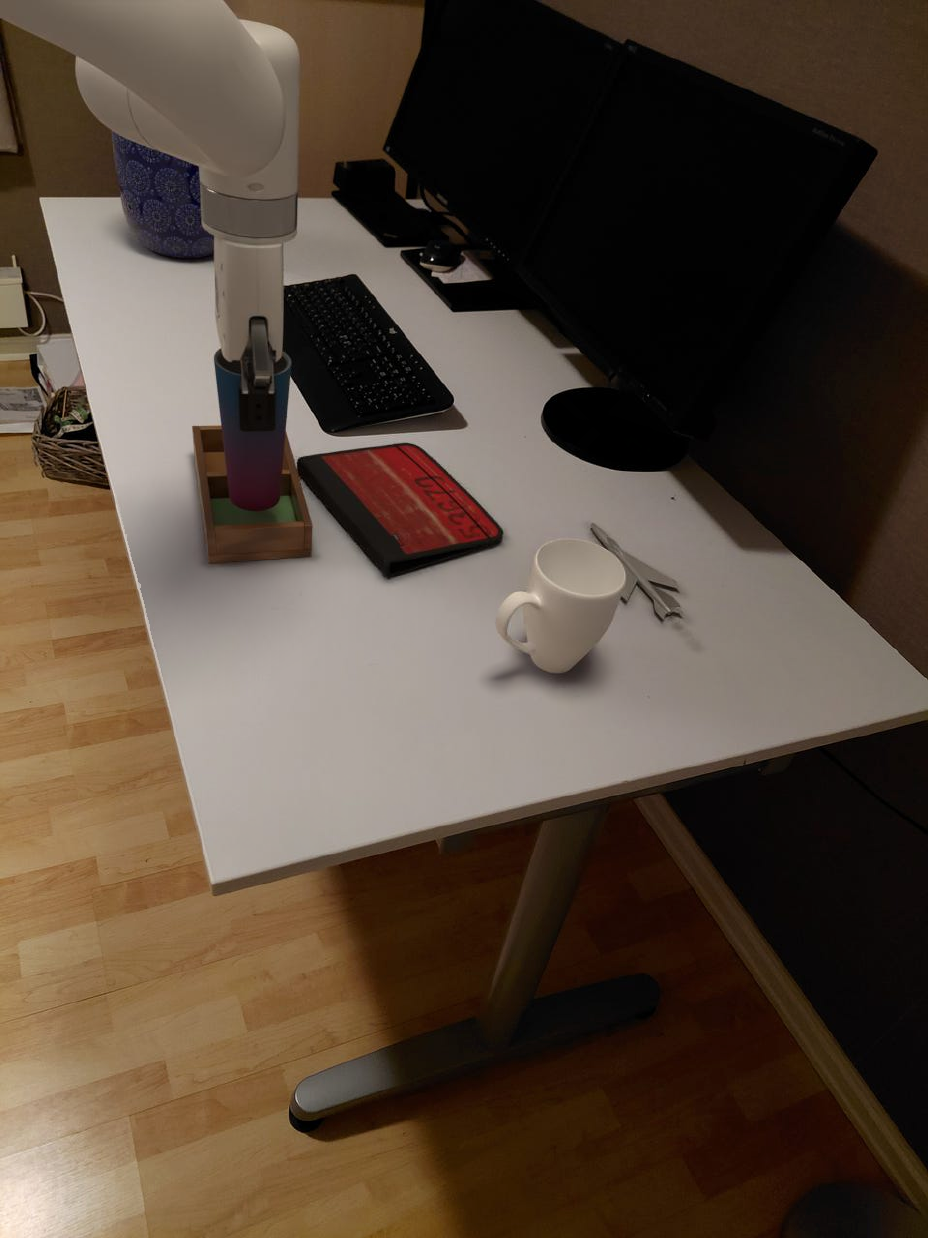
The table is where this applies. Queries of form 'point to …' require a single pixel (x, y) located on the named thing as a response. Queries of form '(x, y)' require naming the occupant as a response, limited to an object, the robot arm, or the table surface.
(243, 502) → the cup
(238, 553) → the wooden compartment tray
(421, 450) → the binder
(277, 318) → the robot arm
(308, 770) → the table surface
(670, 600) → the toy airplane
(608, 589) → the mug
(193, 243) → the planter
